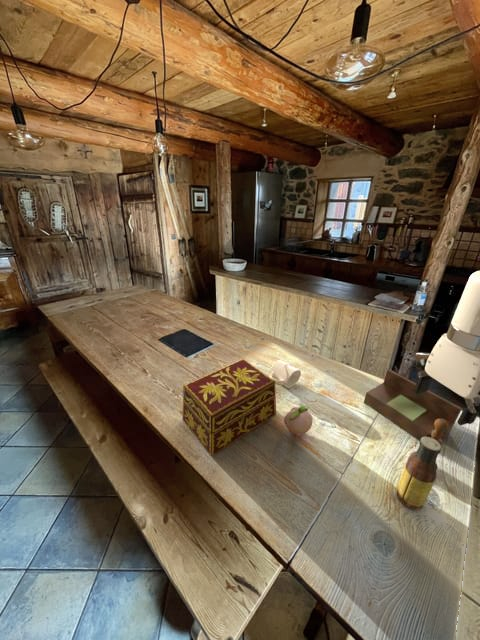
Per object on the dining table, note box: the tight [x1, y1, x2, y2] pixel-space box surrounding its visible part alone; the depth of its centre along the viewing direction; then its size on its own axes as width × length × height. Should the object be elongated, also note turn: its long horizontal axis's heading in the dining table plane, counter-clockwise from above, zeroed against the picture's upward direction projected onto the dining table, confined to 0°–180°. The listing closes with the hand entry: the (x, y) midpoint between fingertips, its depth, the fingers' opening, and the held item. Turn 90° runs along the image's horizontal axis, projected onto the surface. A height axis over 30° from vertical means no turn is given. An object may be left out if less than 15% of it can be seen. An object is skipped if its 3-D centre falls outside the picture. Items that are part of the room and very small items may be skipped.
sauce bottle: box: [396, 437, 442, 511], centre depth 65 cm, size 6×6×20 cm
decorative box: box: [181, 358, 277, 457], centre depth 90 cm, size 28×19×15 cm
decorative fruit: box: [283, 405, 313, 435], centre depth 86 cm, size 9×8×10 cm
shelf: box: [363, 368, 463, 442], centre depth 92 cm, size 24×12×11 cm, turn 32°
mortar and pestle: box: [414, 419, 449, 472], centre depth 73 cm, size 7×6×18 cm
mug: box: [269, 359, 302, 389], centre depth 109 cm, size 12×9×8 cm
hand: (440, 406), depth 57 cm, fingers open, 9 cm apart
